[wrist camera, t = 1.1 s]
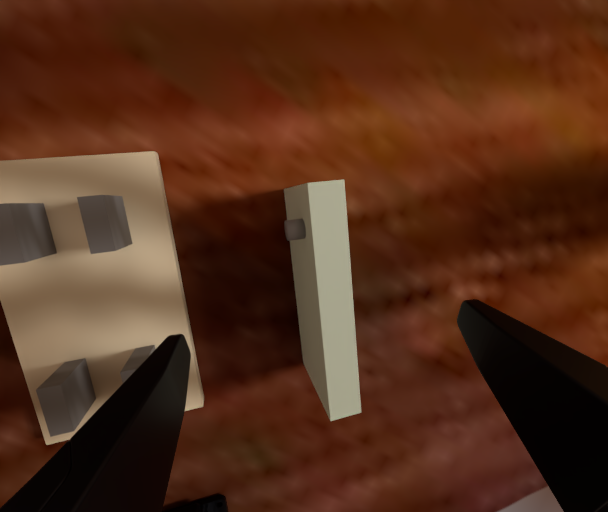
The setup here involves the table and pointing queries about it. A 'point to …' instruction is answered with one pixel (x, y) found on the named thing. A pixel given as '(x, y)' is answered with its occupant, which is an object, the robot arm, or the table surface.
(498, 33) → the table surface
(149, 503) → the robot arm
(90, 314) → the hinge base
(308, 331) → the door panel
